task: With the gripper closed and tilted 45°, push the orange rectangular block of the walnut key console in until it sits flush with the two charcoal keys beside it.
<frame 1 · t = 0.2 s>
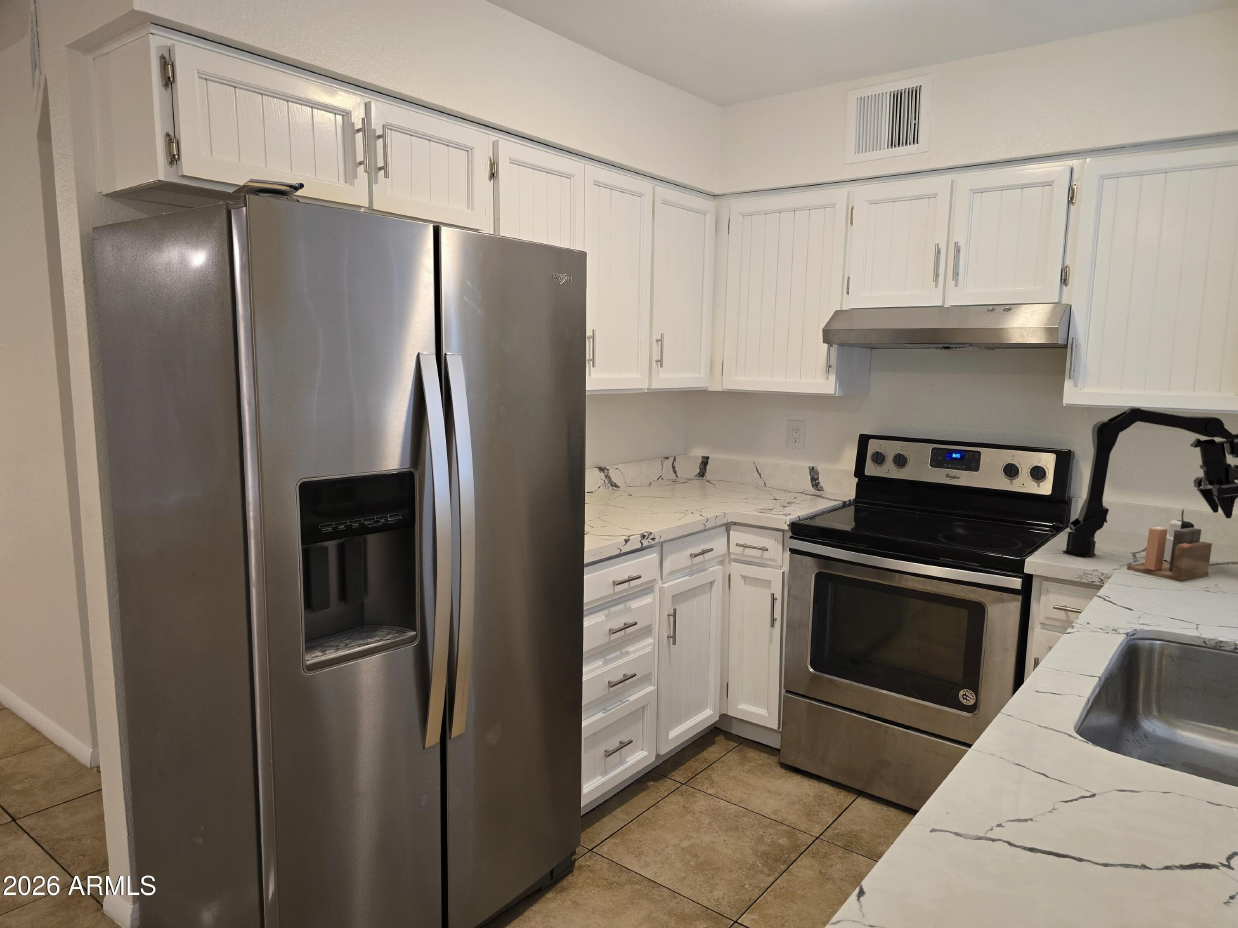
hand: (1222, 515, 227), 15 cm above the countertop, tool pointing down, fingers open, 9 cm apart
key console: (1167, 572, 222), on the countertop
orange rectangular block: (1155, 548, 220), point 7 cm above the countertop, slide at 4.0 cm
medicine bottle: (1176, 562, 237), on the countertop
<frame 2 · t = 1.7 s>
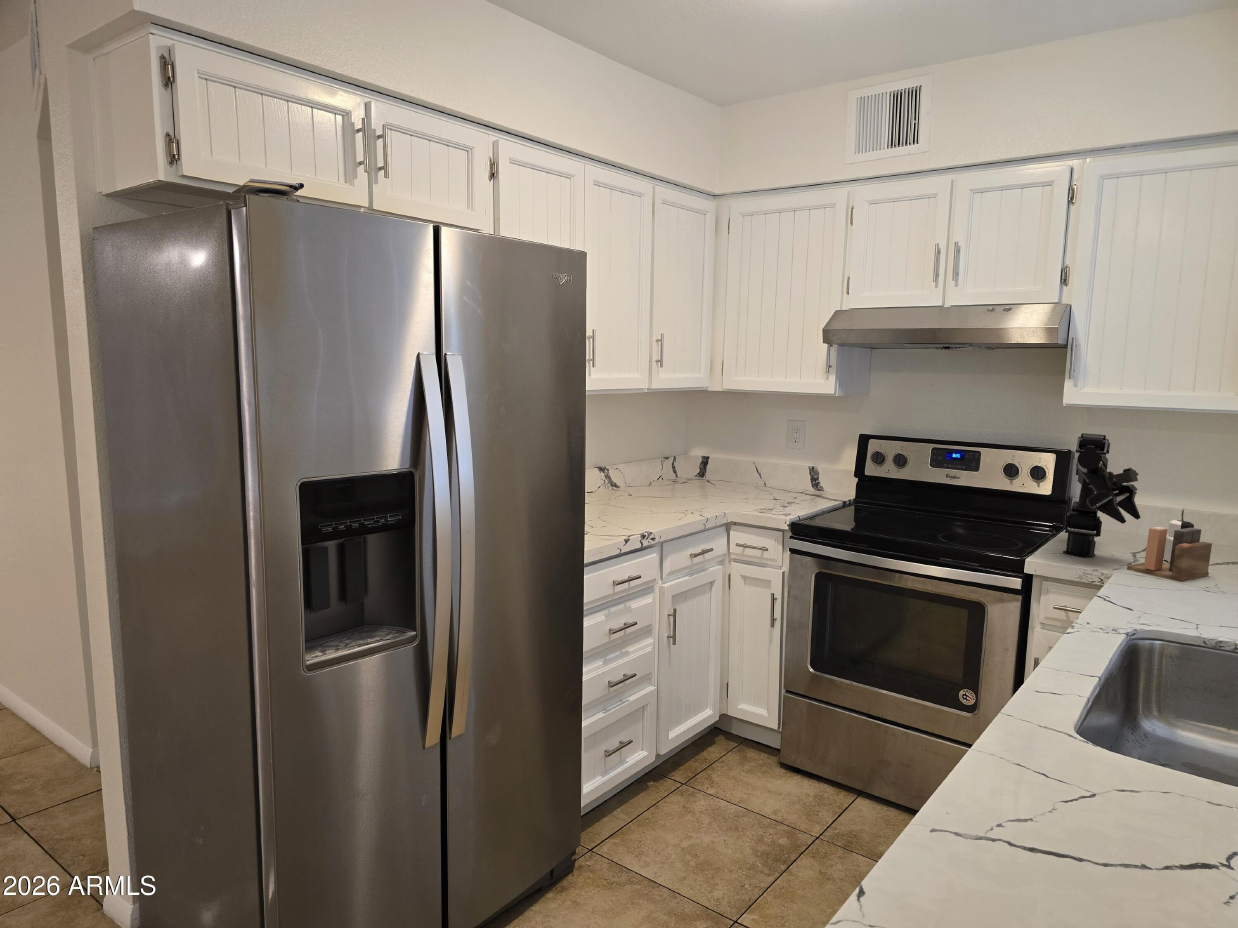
hand: (1131, 520, 225), 13 cm above the countertop, tool tilted 45°, fingers open, 9 cm apart
nothing on the countertop moved.
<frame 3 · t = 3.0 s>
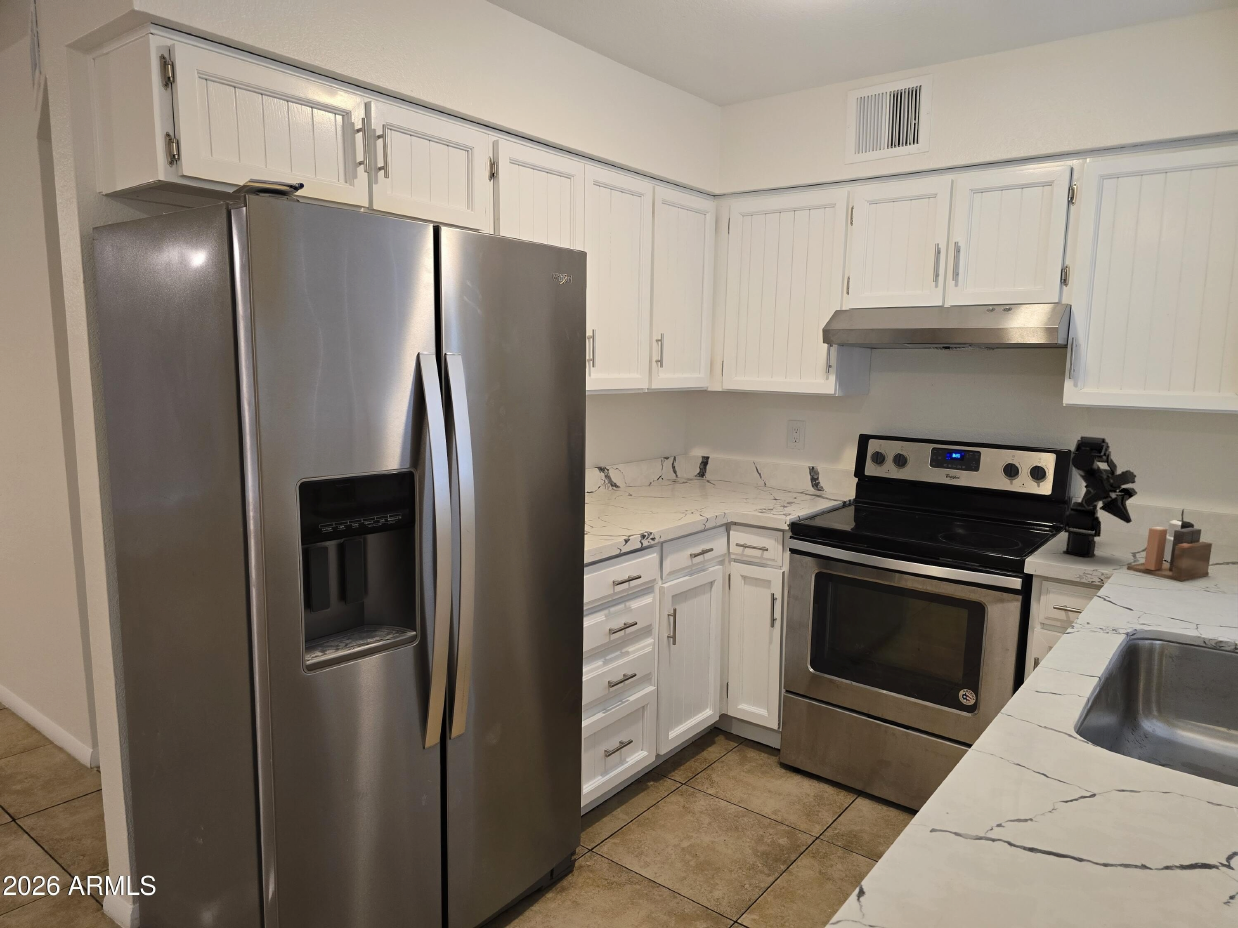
hand: (1129, 522, 225), 13 cm above the countertop, tool tilted 45°, fingers closed
nothing on the countertop moved.
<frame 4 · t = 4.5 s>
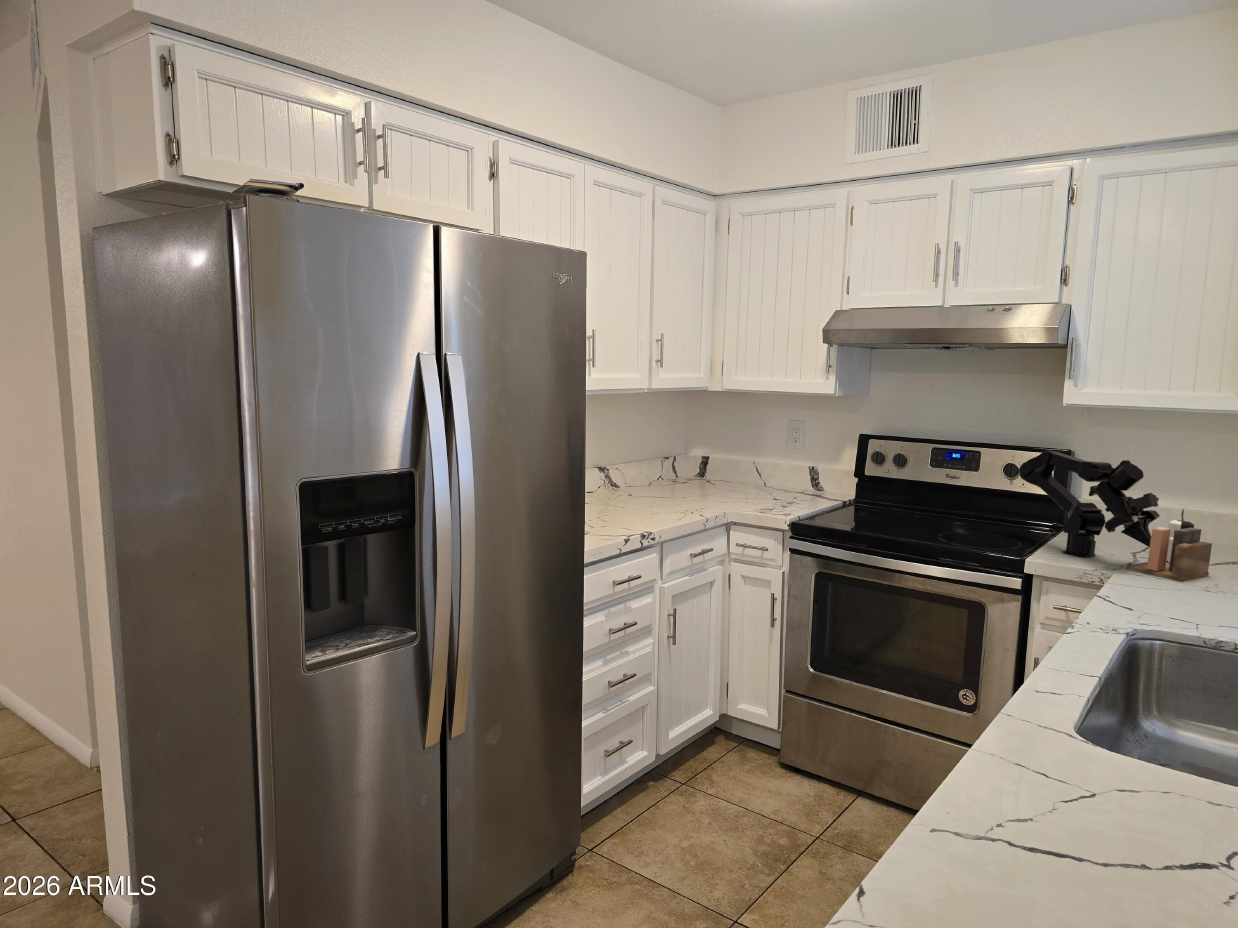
hand: (1152, 546, 220), 7 cm above the countertop, tool tilted 45°, fingers closed, pressing on orange rectangular block
orange rectangular block: (1158, 548, 219), point 7 cm above the countertop, slide at 3.3 cm, touching gripper
everything else where it was.
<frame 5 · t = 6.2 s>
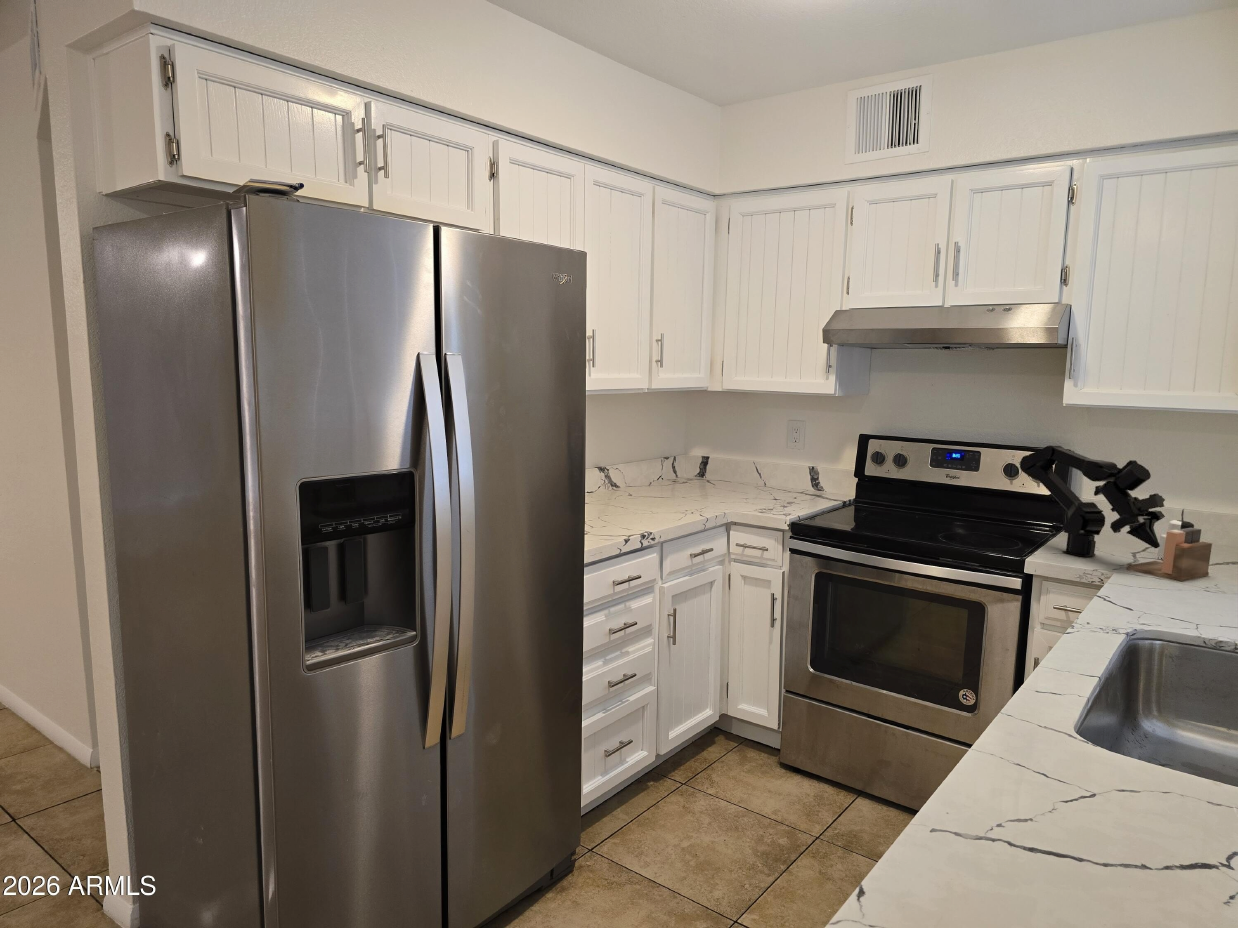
hand: (1157, 547, 219), 7 cm above the countertop, tool tilted 45°, fingers closed
orange rectangular block: (1173, 551, 216), point 7 cm above the countertop, slide at -0.3 cm
everything else where it was.
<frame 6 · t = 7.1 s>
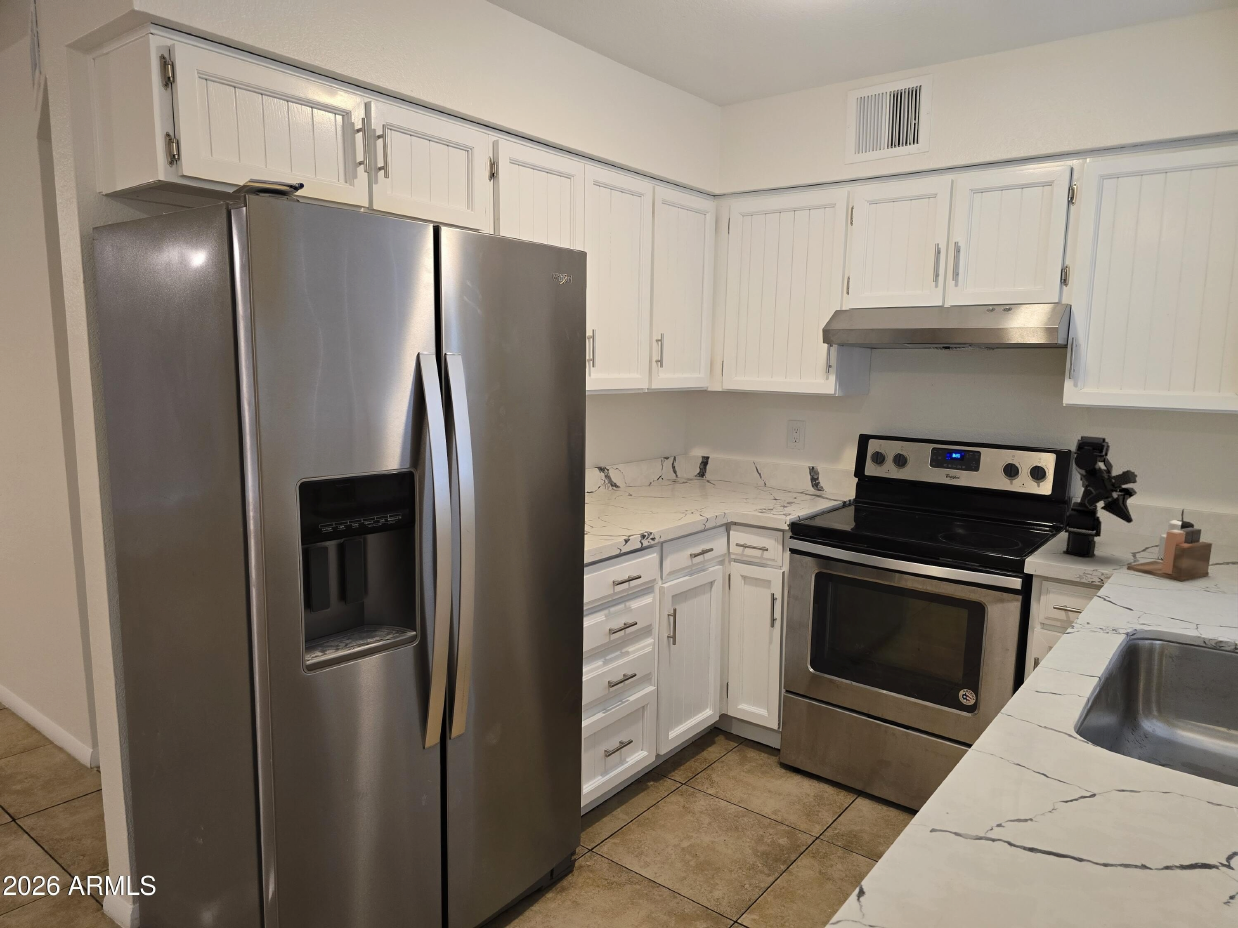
hand: (1130, 522, 225), 13 cm above the countertop, tool tilted 45°, fingers closed
nothing on the countertop moved.
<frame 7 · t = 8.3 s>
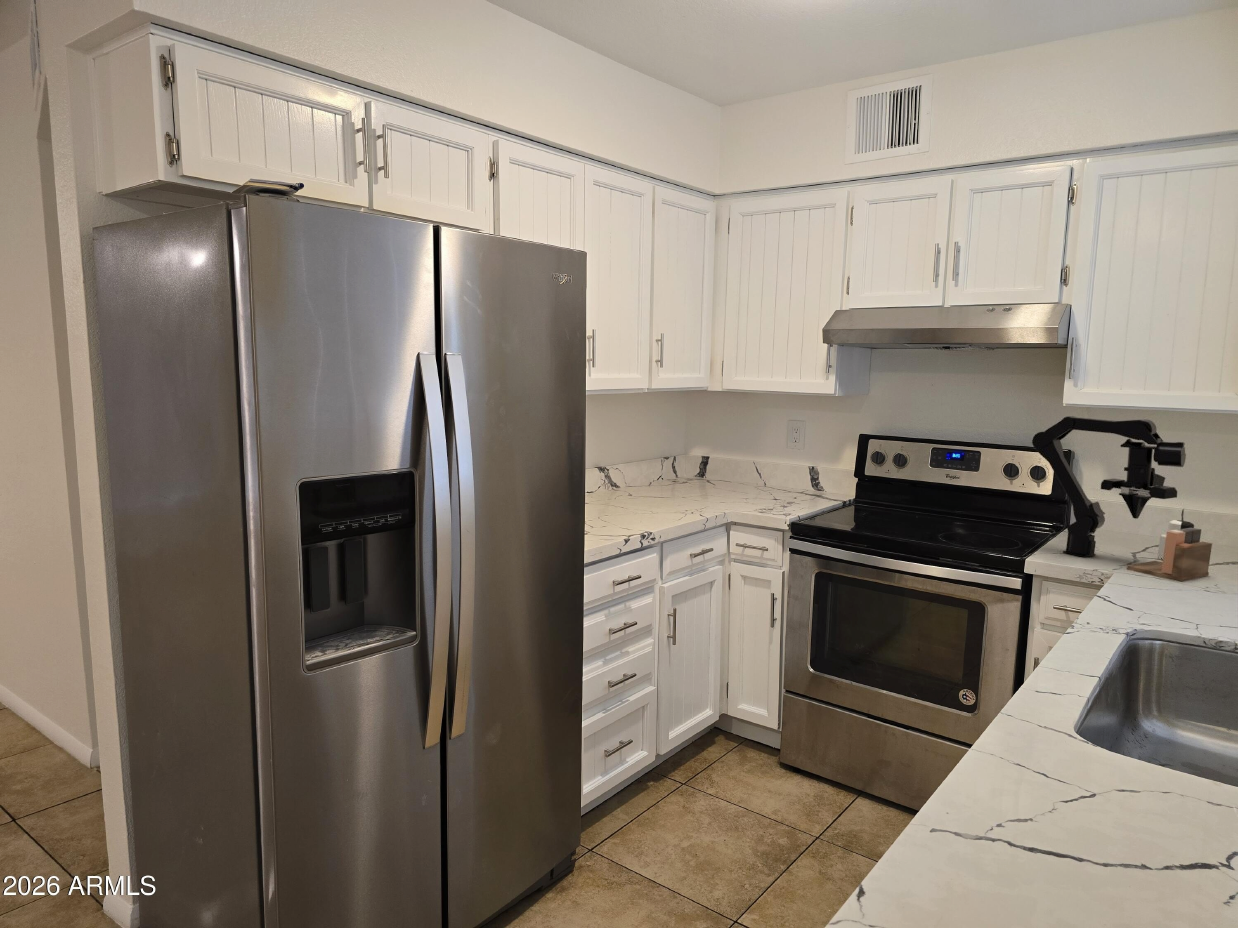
hand: (1135, 518, 230), 13 cm above the countertop, tool pointing down, fingers closed
nothing on the countertop moved.
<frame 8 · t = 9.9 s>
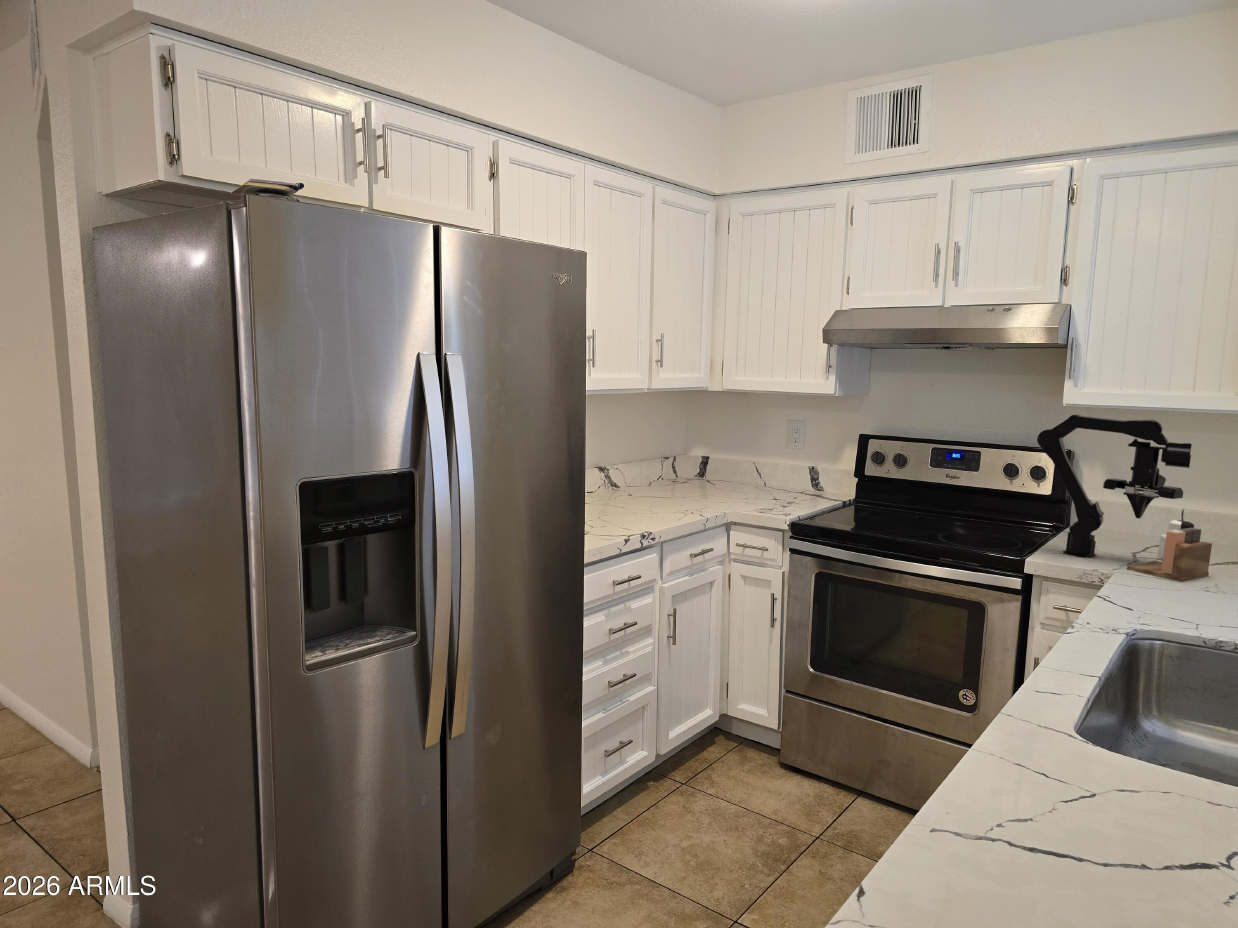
hand: (1138, 518, 230), 13 cm above the countertop, tool pointing down, fingers closed
nothing on the countertop moved.
at the end: orange rectangular block slide at -0.3 cm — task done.
